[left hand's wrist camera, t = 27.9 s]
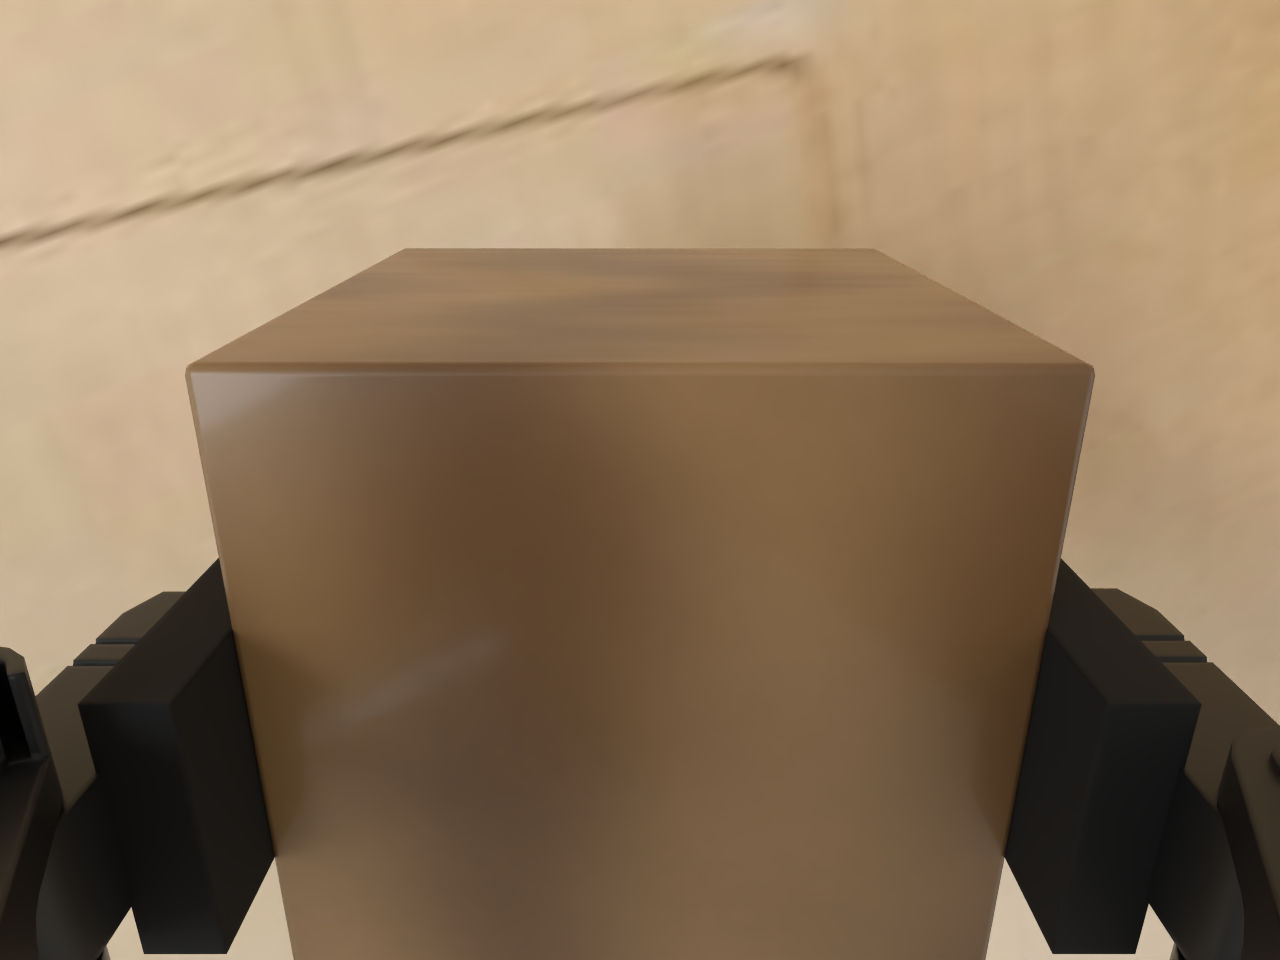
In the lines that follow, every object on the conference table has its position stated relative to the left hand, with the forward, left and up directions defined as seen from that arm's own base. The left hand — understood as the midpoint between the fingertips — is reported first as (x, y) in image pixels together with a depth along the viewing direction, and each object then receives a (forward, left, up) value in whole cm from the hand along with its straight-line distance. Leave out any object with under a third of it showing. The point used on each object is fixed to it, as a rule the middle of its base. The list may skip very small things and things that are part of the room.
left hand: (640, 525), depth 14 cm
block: (0, 0, -2) cm, 2 cm away
